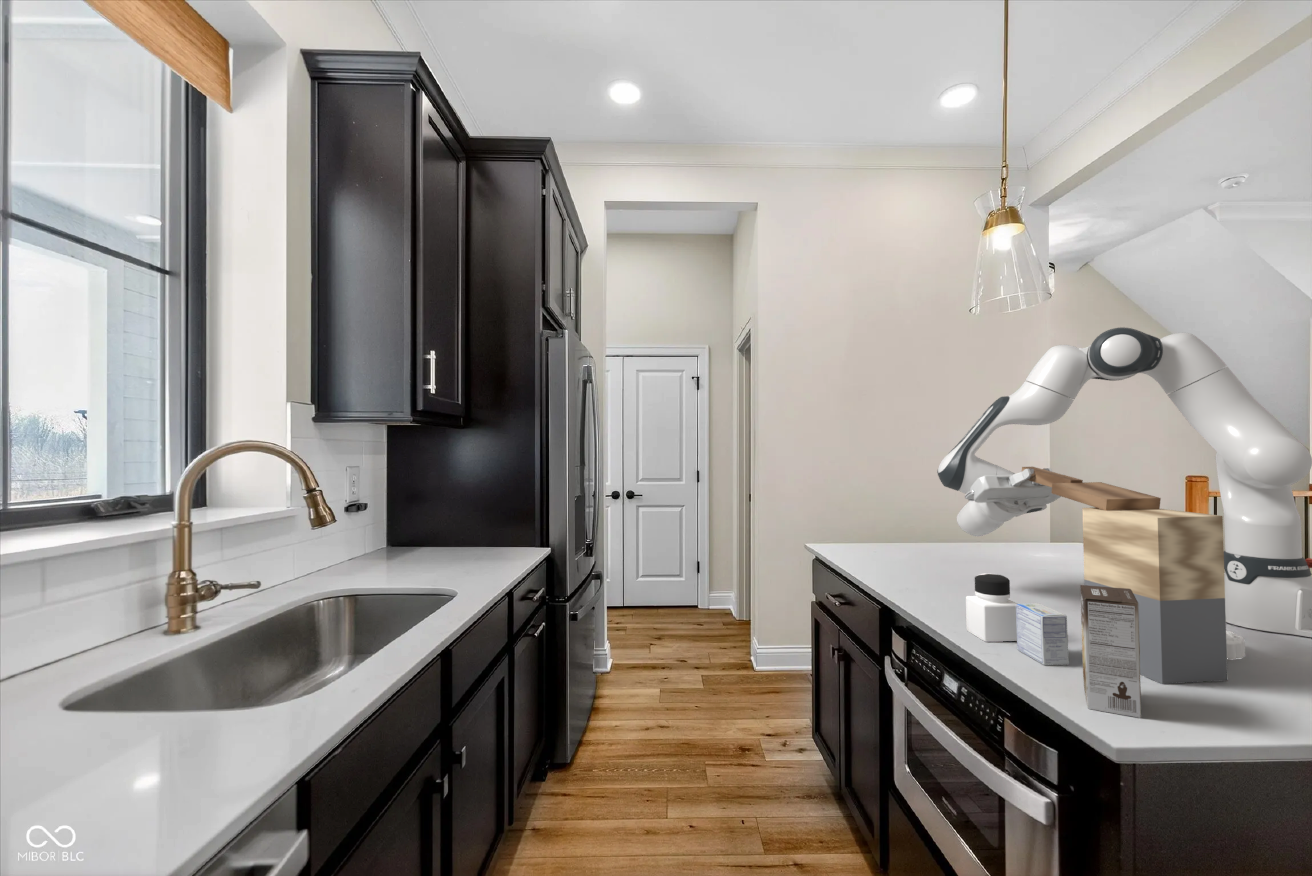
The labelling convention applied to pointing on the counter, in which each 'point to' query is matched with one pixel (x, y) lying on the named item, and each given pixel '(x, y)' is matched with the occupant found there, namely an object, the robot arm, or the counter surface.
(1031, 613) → the medicine box
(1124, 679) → the coffee box
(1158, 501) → the walnut board
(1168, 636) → the tower base block
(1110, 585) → the tower top block
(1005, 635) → the medicine bottle
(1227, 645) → the mooncake
